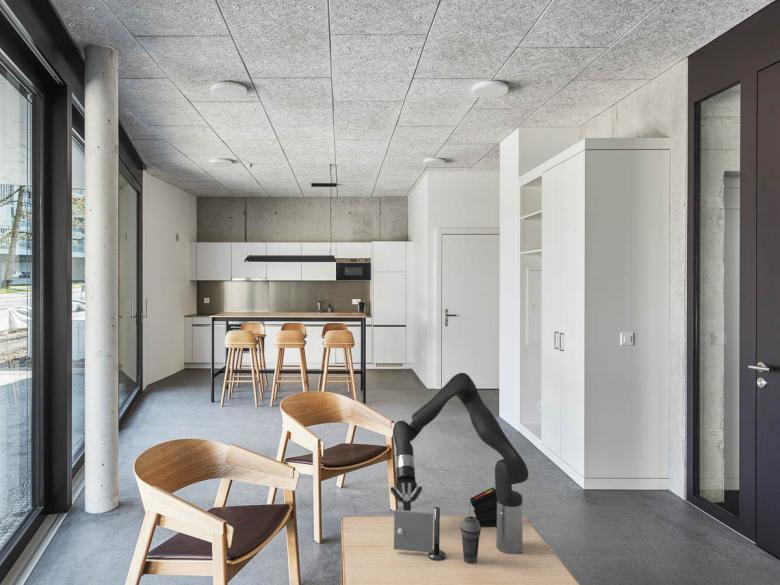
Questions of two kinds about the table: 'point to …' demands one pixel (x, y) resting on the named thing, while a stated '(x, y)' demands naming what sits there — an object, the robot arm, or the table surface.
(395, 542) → the door
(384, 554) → the table surface
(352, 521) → the table surface
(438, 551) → the hinge post
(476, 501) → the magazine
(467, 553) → the beverage cup
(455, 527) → the table surface
